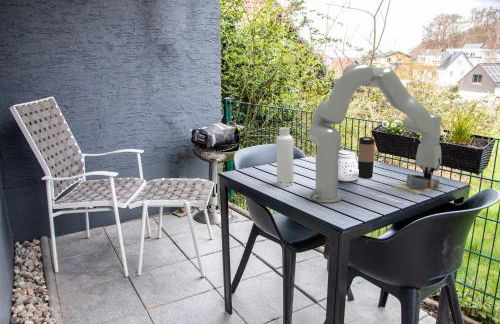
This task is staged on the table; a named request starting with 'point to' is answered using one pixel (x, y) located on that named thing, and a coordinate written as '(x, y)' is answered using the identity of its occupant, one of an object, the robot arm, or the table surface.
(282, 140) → the bottle
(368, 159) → the travel mug
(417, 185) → the flange
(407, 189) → the board
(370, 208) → the table surface
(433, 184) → the dowel
